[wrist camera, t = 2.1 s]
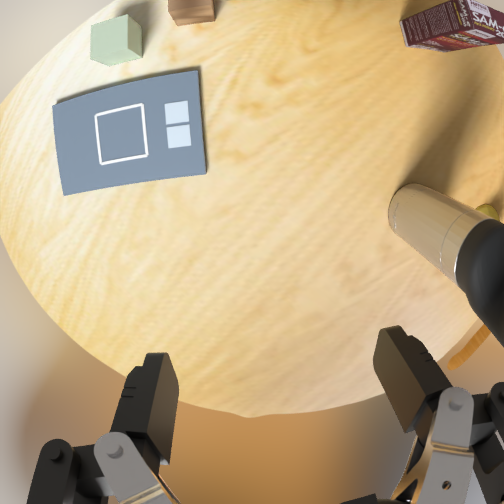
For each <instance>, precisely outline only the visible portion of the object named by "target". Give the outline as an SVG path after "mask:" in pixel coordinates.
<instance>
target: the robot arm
mask: <svg viewBox="0 0 504 504" xmlns="http://www.w3.org/2000/svg"><path fill="white" fill-rule="evenodd" d="M388 215H389V223H390V226H391V228H392V230H393V231H394V233H395V234H397V235H398V236H399V237H400V238H402V239H403V240H404V241H405V242H407V243H408V244H409V245H410V246H411V247H413V248H414V249H415V250H416V251H418V252H419V253H420V254H421V255H422V256H424V257H425V258H426V259H427V260H428V261H430V262H431V263H432V264H433V265H434V266H435V267H437V268H438V269H439V270H440V271H441V272H442V273H443V274H445V275H446V276H447V277H448V278H449V279H450V280H452V281H453V282H454V283H455V284H456V285H457V286H458V287H459V288H460V289H461V290H463V291H464V292H465V294H466V296H467V298H468V301H469V304H470V306H471V307H472V309H473V311H474V312H475V313H476V314H477V316H478V317H479V318H480V319H481V320H482V321H483V323H484V324H485V325H486V326H487V327H488V329H489V330H490V331H491V332H492V334H493V335H494V336H495V337H496V338H497V340H498V341H499V342H500V343H501V345H502V346H503V347H504V224H503V223H501V222H499V221H498V220H495V219H494V218H492V217H490V216H488V215H486V214H484V213H482V212H480V211H478V210H476V209H474V208H472V207H470V206H468V205H466V204H463V203H461V202H459V201H457V200H455V199H453V198H451V197H448V196H446V195H444V194H442V193H440V192H437V191H435V190H433V189H431V188H428V187H426V186H423V185H421V184H418V183H412V184H407V185H405V186H403V187H402V188H401V189H400V190H398V192H397V193H396V194H395V195H394V197H393V199H392V201H391V203H390V206H389V212H388ZM373 365H374V370H375V372H376V374H377V376H378V378H379V380H380V382H381V384H382V386H383V388H384V390H385V392H386V394H387V396H388V399H389V401H390V403H391V405H392V407H393V409H394V411H395V413H396V415H397V417H398V420H399V422H400V424H401V426H402V428H403V430H404V433H408V432H410V431H413V430H415V431H416V434H417V436H416V437H415V440H414V443H413V447H412V450H411V453H410V456H409V459H408V462H407V465H406V468H405V470H404V473H403V476H402V478H401V480H400V482H399V483H398V485H397V487H396V488H395V490H394V492H393V494H392V496H391V498H390V499H377V498H376V495H375V494H371V495H368V496H365V497H361V498H358V499H354V500H350V501H347V502H343V503H341V504H464V502H465V499H466V495H467V491H468V487H469V482H470V478H471V473H472V468H473V469H474V472H475V474H476V477H477V479H478V482H479V484H480V487H481V490H482V492H483V494H484V498H485V500H486V503H487V504H504V450H503V448H502V446H501V444H500V442H499V440H498V438H497V436H496V434H495V432H496V431H497V430H498V432H499V434H500V436H501V438H502V440H503V442H504V382H499V383H496V384H495V385H494V386H493V387H492V389H491V390H490V392H489V393H485V394H477V395H471V394H470V393H469V392H468V391H467V390H465V389H463V388H460V387H453V386H452V385H451V383H450V382H449V380H448V379H447V377H446V376H445V374H444V373H443V372H442V370H441V368H440V367H439V366H438V364H437V363H436V361H435V360H433V357H432V356H431V354H430V353H428V350H427V349H426V347H425V346H424V344H423V343H422V342H421V341H419V340H418V339H417V338H415V337H414V336H412V335H410V336H407V334H406V333H405V331H404V330H403V329H402V327H401V326H399V325H397V326H392V327H388V328H383V329H381V330H380V331H379V335H378V339H377V344H376V348H375V352H374V357H373ZM178 396H179V385H178V380H177V377H176V374H175V371H174V369H173V366H172V363H171V360H170V357H169V355H168V353H147V354H146V357H145V360H144V363H143V366H135V368H134V369H133V370H132V371H131V372H130V373H129V375H128V376H127V379H126V382H125V385H124V389H123V391H122V394H121V398H120V400H119V403H118V407H117V410H116V413H115V417H114V420H113V424H112V427H111V430H110V432H109V433H107V434H105V435H103V436H101V437H100V438H99V439H98V440H97V442H96V443H95V444H93V445H86V446H78V447H71V446H70V445H69V443H67V442H66V441H64V440H62V439H53V440H51V441H49V442H47V443H46V444H45V445H44V446H43V448H42V450H41V452H40V455H39V459H38V462H37V465H36V469H35V472H34V476H33V479H32V483H31V487H30V491H29V495H28V499H27V504H108V496H112V495H115V497H116V498H117V500H118V502H119V504H181V503H180V502H179V500H178V499H177V498H176V497H175V496H174V494H173V493H172V491H171V490H170V489H169V487H168V486H167V485H166V483H165V482H164V481H163V479H162V478H161V477H160V475H159V467H160V464H163V465H169V463H170V455H171V447H172V439H173V432H174V423H175V417H176V409H177V403H178Z"/></svg>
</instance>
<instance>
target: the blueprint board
mask: <svg viewBox="0 0 504 504" xmlns="http://www.w3.org/2000/svg"><path fill="white" fill-rule="evenodd" d="M52 108H53V122H54V133H55V143H56V151H57V158H58V165H59V172H60V178H61V184H62V189H63V194H64V196H66V195H71V194H76V193H81V192H86V191H91V190H97V189H102V188H108V187H114V186H120V185H126V184H133V183H139V182H146V181H153V180H161V179H169V178H177V177H185V176H194V175H204V174H206V163H205V152H204V141H203V129H202V117H201V103H200V89H199V73H198V70H196V71H188V72H181V73H175V74H169V75H163V76H158V77H152V78H147V79H143V80H138V81H134V82H129V83H125V84H121V85H117V86H113V87H109V88H106V89H102V90H99V91H95V92H92V93H88V94H85V95H82V96H79V97H76V98H73V99H70V100H67V101H64V102H61V103H59V104H56V105H53V106H52Z"/></svg>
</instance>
